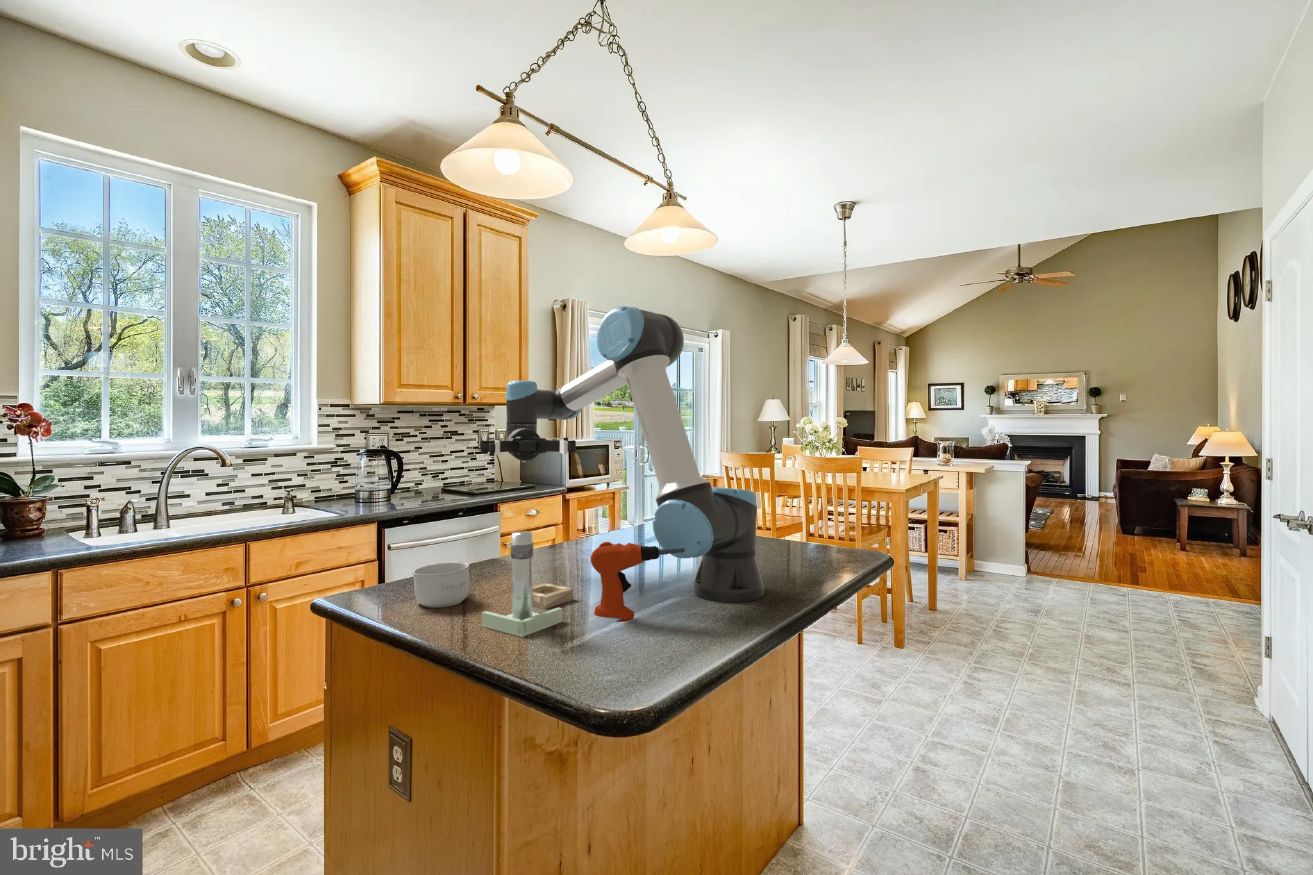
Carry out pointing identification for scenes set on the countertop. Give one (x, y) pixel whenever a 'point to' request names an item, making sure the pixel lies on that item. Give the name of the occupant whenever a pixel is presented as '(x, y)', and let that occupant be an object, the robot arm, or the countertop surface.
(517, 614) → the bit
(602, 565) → the toy drill
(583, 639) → the countertop surface
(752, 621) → the countertop surface
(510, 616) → the pale green flat tray
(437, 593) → the teacup
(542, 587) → the socket
